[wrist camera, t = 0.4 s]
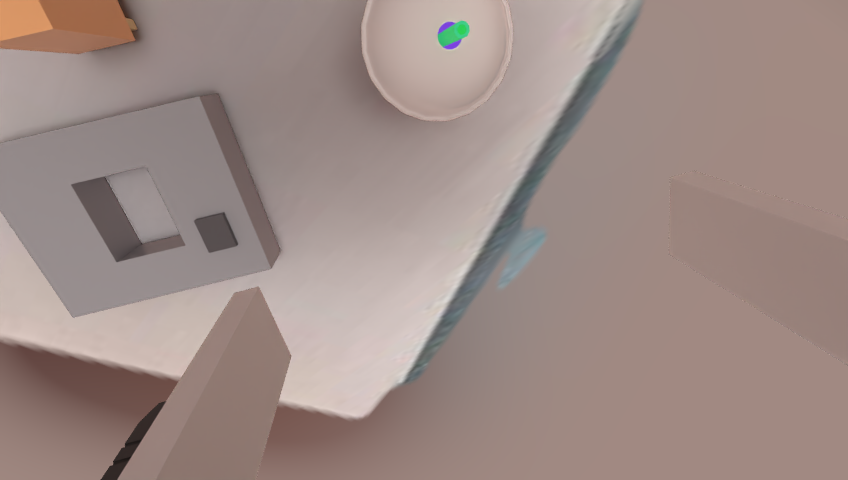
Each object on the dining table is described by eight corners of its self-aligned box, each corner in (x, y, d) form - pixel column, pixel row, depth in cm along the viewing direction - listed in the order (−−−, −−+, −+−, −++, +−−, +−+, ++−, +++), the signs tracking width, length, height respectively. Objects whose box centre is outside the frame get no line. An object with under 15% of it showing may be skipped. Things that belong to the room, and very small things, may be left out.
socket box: (5, 143, 33) (-47, 153, 29) (217, 93, 34) (196, 96, 30) (101, 295, 39) (69, 321, 35) (280, 251, 40) (269, 271, 36)
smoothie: (425, 124, 37) (476, 173, 18) (346, 64, 34) (314, 53, 16) (482, 43, 35) (604, 6, 16) (403, -27, 32) (442, -163, 14)
